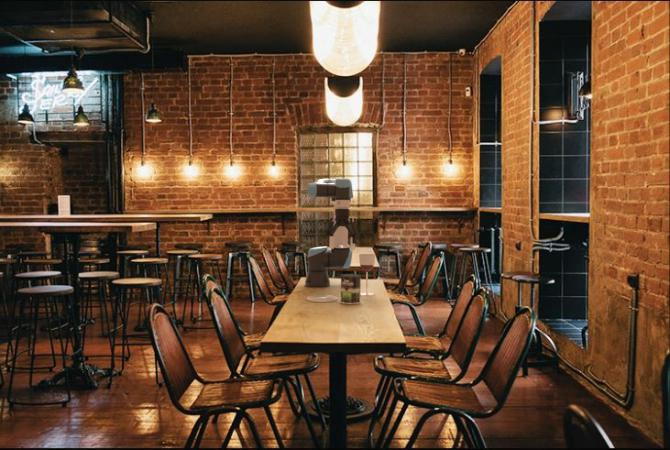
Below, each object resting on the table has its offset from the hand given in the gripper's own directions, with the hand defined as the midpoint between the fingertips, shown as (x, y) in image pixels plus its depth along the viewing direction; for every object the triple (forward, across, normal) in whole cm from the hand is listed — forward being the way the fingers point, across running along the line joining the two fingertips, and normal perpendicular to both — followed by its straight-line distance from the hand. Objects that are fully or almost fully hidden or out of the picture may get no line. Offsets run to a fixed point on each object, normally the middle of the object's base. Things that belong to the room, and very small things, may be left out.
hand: (342, 249), depth 309 cm
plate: (+27, -10, -4) cm, 29 cm away
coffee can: (+27, +6, -1) cm, 28 cm away
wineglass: (+26, -2, +26) cm, 37 cm away
